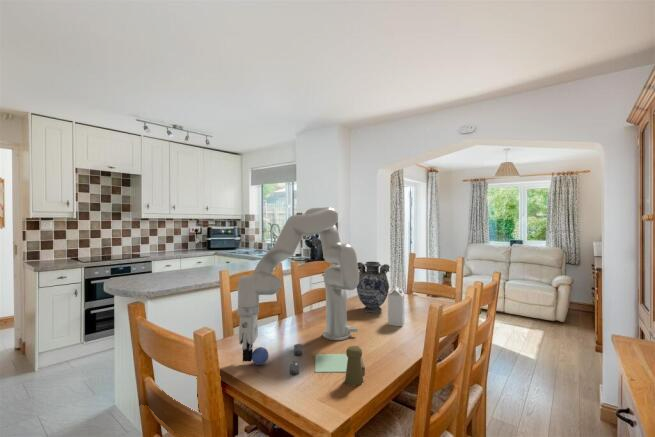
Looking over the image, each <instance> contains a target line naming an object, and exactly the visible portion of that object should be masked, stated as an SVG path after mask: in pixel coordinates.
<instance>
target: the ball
mask: <svg viewBox="0 0 655 437" xmlns="http://www.w3.org/2000/svg"><path fill="white" fill-rule="evenodd" d="M268 351H269V350H267V349H266V348H265V347H262V346H259V347H256V348H255V349H253V353H252V360H251V361H252V363H253V364H255V365H258V366H262V365H264V364H265V363H266V362H268V359H269V352H268Z"/></svg>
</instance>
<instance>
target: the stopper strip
mask: <svg viewBox="0 0 655 437" xmlns="http://www.w3.org/2000/svg"><path fill="white" fill-rule="evenodd" d="M357 346H358V347H360V345H357ZM360 359H361V366H362V374H363V376H365V374H366V372H365V371H366V368H365V367H366V366H365V363H364V359H363V357H361V358H360Z"/></svg>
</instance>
